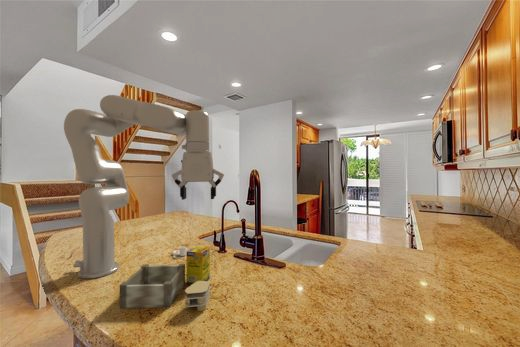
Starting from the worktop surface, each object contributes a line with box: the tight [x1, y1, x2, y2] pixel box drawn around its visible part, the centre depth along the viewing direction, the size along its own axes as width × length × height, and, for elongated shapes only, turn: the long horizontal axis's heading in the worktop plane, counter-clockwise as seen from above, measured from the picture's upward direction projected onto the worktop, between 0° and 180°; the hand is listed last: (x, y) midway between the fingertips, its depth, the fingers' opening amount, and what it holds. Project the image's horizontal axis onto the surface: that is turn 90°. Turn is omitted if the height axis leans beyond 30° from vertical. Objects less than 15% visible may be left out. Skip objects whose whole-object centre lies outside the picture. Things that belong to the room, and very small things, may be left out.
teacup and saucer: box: [171, 245, 188, 260], centre depth 101 cm, size 9×8×4 cm
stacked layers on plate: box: [184, 280, 211, 312], centre depth 63 cm, size 10×9×6 cm
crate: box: [119, 263, 186, 309], centre depth 69 cm, size 14×14×6 cm
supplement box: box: [185, 245, 211, 285], centre depth 77 cm, size 6×6×11 cm
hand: (198, 198), depth 77 cm, fingers open, 9 cm apart
